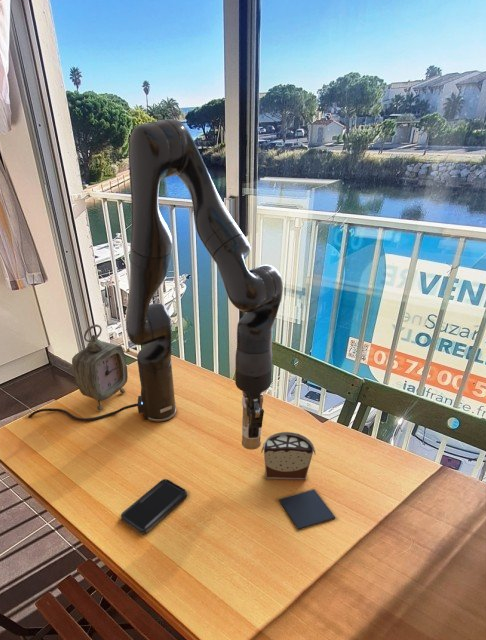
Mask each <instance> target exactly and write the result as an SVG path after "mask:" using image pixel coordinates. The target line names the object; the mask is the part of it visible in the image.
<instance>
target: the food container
mask: <svg viewBox="0 0 486 640" xmlns="http://www.w3.org/2000/svg"><path fill="white" fill-rule="evenodd" d="M263 453H264V454H263ZM260 454H263V457H264V458H263V459H264V469H265V479H277V480H278V479H279V480H307V476H308V473H309V468H310V465H311V461H312V458H313V455H315V456H316V449H315V446H314V444H313V443H312V441H311V440H310V439H309V438H307V437H306V436H304V435H302V434H300V433H297V432H292V431H282V432H277V433H274V434H272V435H270V436H268V437H267V438H266V439H265V441H264V443H263V445H262V448H261V450H260Z"/></svg>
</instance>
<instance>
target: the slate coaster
mask: <svg viewBox="0 0 486 640" xmlns="http://www.w3.org/2000/svg"><path fill="white" fill-rule="evenodd" d="M278 501H279V503H280V505H281V506H282V507H283V509H284V510H285V512H286V514H287V516H289V518H290V519H291V521H292V523H293V524H294V526H295V527H296V529H297V530H302V529H305V528H308V527H312V526H316V525H318V524H322V523H326V522H328V521H331V520H335V519H336V516H335V515H334V513H333V512H332V511H331V509H330V508H329V507H328V505H327V504H326V503H325V501H324V500H323V499H322V498H321V496H320V494H319V493H317V491H316V490H315V489H314V488H313V489H310V490H307V491H303V492H300V493H297V494H293V495H289V496H286V497H283V498H282V497H281V498H280V499H278Z"/></svg>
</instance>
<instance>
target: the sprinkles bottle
mask: <svg viewBox="0 0 486 640" xmlns="http://www.w3.org/2000/svg"><path fill="white" fill-rule="evenodd" d="M245 396H246V395H245ZM241 406H242V422H241V425H242V426H241V435H242V436H241V446H242V447H243V448H244V449H247V450H248V451H249V450H250V451H253V450H257V449H259V448H260V447H261V444H262V441H261V438H262V428H259V436H258V437H257V438H249V436H248V425H249V424H248V416H247V415H246V404H245V402H244V396H243V395H242V397H241ZM263 406H264V402H263V403H262V407H263ZM249 411H250V412H251V410H250V409H249Z"/></svg>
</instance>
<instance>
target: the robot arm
mask: <svg viewBox="0 0 486 640" xmlns="http://www.w3.org/2000/svg"><path fill="white" fill-rule="evenodd" d="M128 168H129V169H128V170H129V171H128V172H129V184H130V200H131V220H130V221H131V223H130V224H131V225H130V228H131V229H130V243H129V246H130V247H129V288H128V297H127V303H126V310H125V330H126V334H127V337H128V339H129V341H130V342H131V343H132V344H133V345H135V346H143V347H142V348H141V349H140V350H139V351H138V352H137V355H136V361H137V368H138V376H139V382H140V383H139V384H140V395H138V396H137V403H133V404H128V405H125V406H123V407H120V408H118V409H117V410H114V411H112V412H111V411H110V412H109V413H105V414H102V415H98V416H93V417H83V418H81V417H77V416H74V415H73V414H71V413H70V412H69V411H67V410H66V409H62V408H48V407H47V408H40V409H36V410H34V411H33V412H31V413H30V414H29V415H28V418H29V419H31V418H32V417H33V416H34V415H36V414H39V413H43V412H60V413H63V414H64V415H67V416H68V417H69V418H71V419H73V420H74V421H80V422H92V421H97V420H101V419H103V418H108V417H110V416H114V415H117V414H119V413H120V412H123V411H125V410H128V409H131V408H136V407H137V412H138V414H143V417H144V418H143V419H144V420H145V421H150V422H154V423H163V422H166V421H170V420H171V419H173V418H174V417H175V416H176V414H177V407H176V397H175V388H174V377H173V365H172V355H173V339H172V338H173V337H172V335H173V334H172V333H173V332H172V331H173V330H172V321H171V317H170V314H169V311H168V309H167V307H165V305H163V303H160V302H155V303H151V302H152V299H153V298H154V296H155V295H156V293H157V292H158V290H159V289H160V287H161V286H162V284H163V283H164V281H165V279H166V278H167V276H168V274H169V272H170V268H171V263H172V256H173V255H172V254H173V245H174V244H173V242H174V241H173V236H172V232H171V231H170V228H169V226H168V224H167V222H166V220H165V219H164V217H163V215H162V213H161V211H160V205H159V190H160V183H161V180H162V179H163V180H164V179H166V178H169V177H173V176H176V177H178V178H179V179H180V181H182V183H183V184H184V186H185V187H186V189H187V190H188V192H189V195H190V198H191V202H192V212H193V221H194V227H195V230H196V233H197V236H198V238H199V240H200V242H201V243H202V245H203V246H204V248H205V249H206V251H207V252H208V254H209V255H210V257H211V258H212V260H213V261H214V262H215V264H216V266H217V269H218V272H219V275H220V278H221V281H222V284H223V288H224V291H225V293H226V295H227V298H228V299H229V301H230V302H231V304H232V306H234V307H235V308H236V309H237V310H239V311H241V312H243V313H244V315H243V316H242V317H241V318H240V319H239V320H238V322H237V326H236V350H235V359H234V361H235V362H234V363H235V366H234V367H235V369H234V370H235V371H234V374H235V375H234V377H235V380H234V381H235V386H236V388H237V389H238V390H240V391H242V397H243V396H244V402H245V404H246V415H247V416H248V424H249V425H248V436H249V438H257V437H258V436H259V428H261V429H262V427H263V421H264V413H265V410H264V408H263V406H262V403H263V404H264V394H263V393H264V392H266V391H267V390H269V388H270V387H271V385H272V373H273V330H274V329H273V328H274V325H275V321H276V318H277V316H278V312H279V309H280V305H281V302H282V298H283V291H284V290H283V289H284V288H283V279H282V277H281V274H280V272H279V270H277V268H276V267H274V266H272V265H270V264H262V265H258V266H256V267H254V268H251V269H249V270H248V268H247V266H246V263H245V259H247V257H248V256H249V255H250V252H251V246H250V245H251V244H250V243H249V241H248V239H247V237H246V236H245V234H244V233H243V232H242V230H241V229H240V227H239V226H238V224H237V223H236V221H235V220H234V219H233V217H232V215H231V214H230V212H229V211H228V209H227V207H226V205H225V204H224V202H223V200H222V198H221V196H220V194H219V193H218V190H217V188H216V185H215V184H214V181H213V180H212V177H211V174H210V173H209V171H208V168H207V166H206V164H205V162H204V160H203V157H202V155H201V154H200V151H199V148H198V146H197V144H196V142H195V140H194V138H193V137H192V135H191V133H190V132H189V130H188V128H187V127H186V126H185V124H184V123H183V122H181V121H180V120H178V119H174V118H167V119H162V120H161V119H160V120H156V121H152V122H147V123H146V122H145V123H141V124H139V125H137V126H136V127H134V128H133V130H132V131H131V134H130V137H129V142H128ZM150 303H151V304H150ZM245 395H246V396H245ZM249 409H250V410H251V412H250V411H249Z"/></svg>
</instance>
